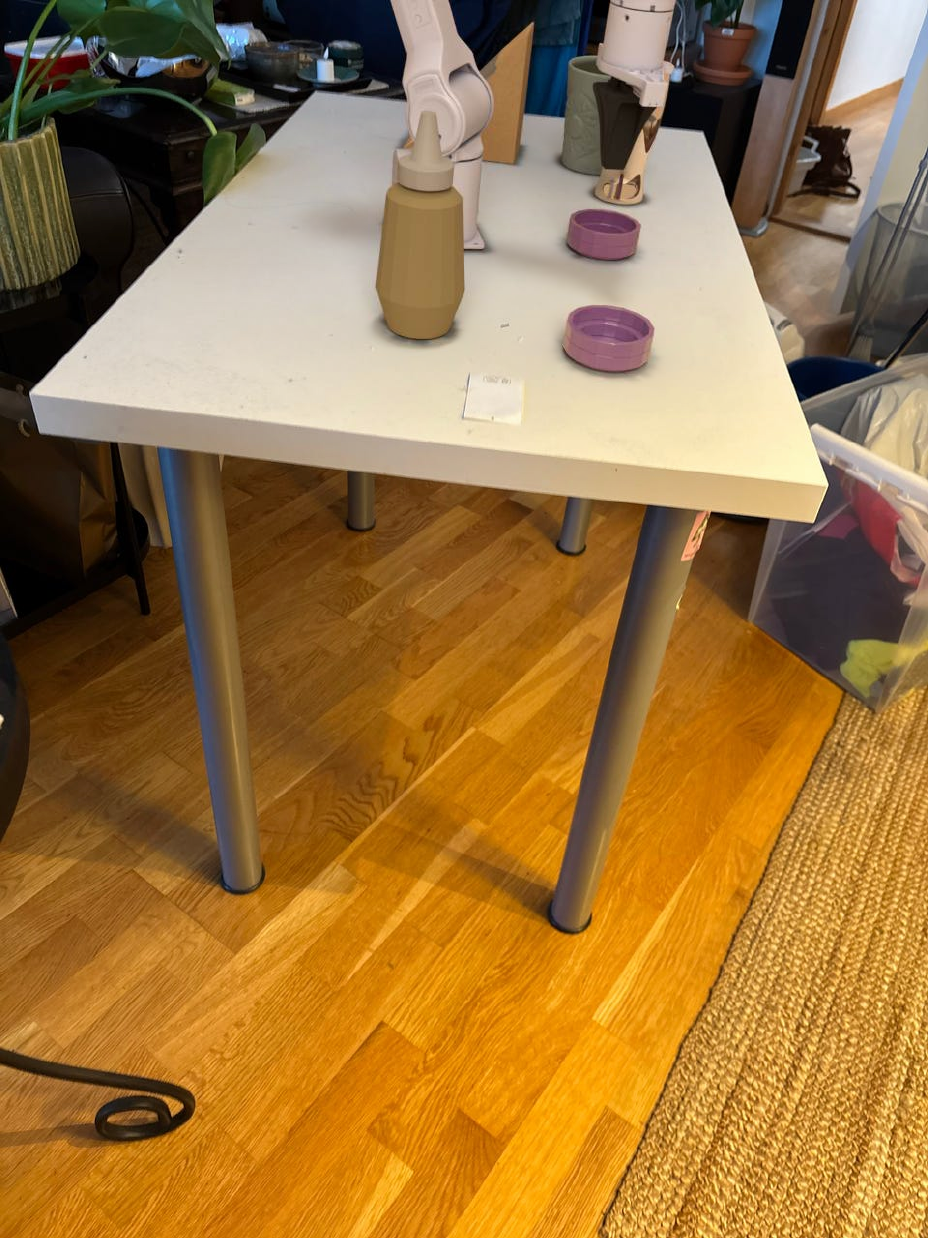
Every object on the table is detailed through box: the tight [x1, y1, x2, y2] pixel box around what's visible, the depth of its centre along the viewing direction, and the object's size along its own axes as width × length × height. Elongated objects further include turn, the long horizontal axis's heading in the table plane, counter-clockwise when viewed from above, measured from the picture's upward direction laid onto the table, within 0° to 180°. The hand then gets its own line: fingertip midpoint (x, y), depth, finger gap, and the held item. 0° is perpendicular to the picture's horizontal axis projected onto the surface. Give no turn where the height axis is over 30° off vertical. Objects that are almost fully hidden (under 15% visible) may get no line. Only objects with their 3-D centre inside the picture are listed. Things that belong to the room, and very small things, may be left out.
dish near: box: [562, 304, 655, 373], centre depth 83 cm, size 8×8×3 cm
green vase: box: [561, 55, 611, 176], centre depth 120 cm, size 10×10×12 cm
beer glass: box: [594, 59, 671, 206], centre depth 111 cm, size 7×7×15 cm
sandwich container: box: [402, 21, 535, 165], centre depth 120 cm, size 9×15×15 cm, turn 81°
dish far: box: [566, 208, 642, 261], centre depth 101 cm, size 8×8×3 cm
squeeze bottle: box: [374, 111, 466, 340], centre depth 78 cm, size 8×8×18 cm
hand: (612, 167), depth 91 cm, fingers closed
